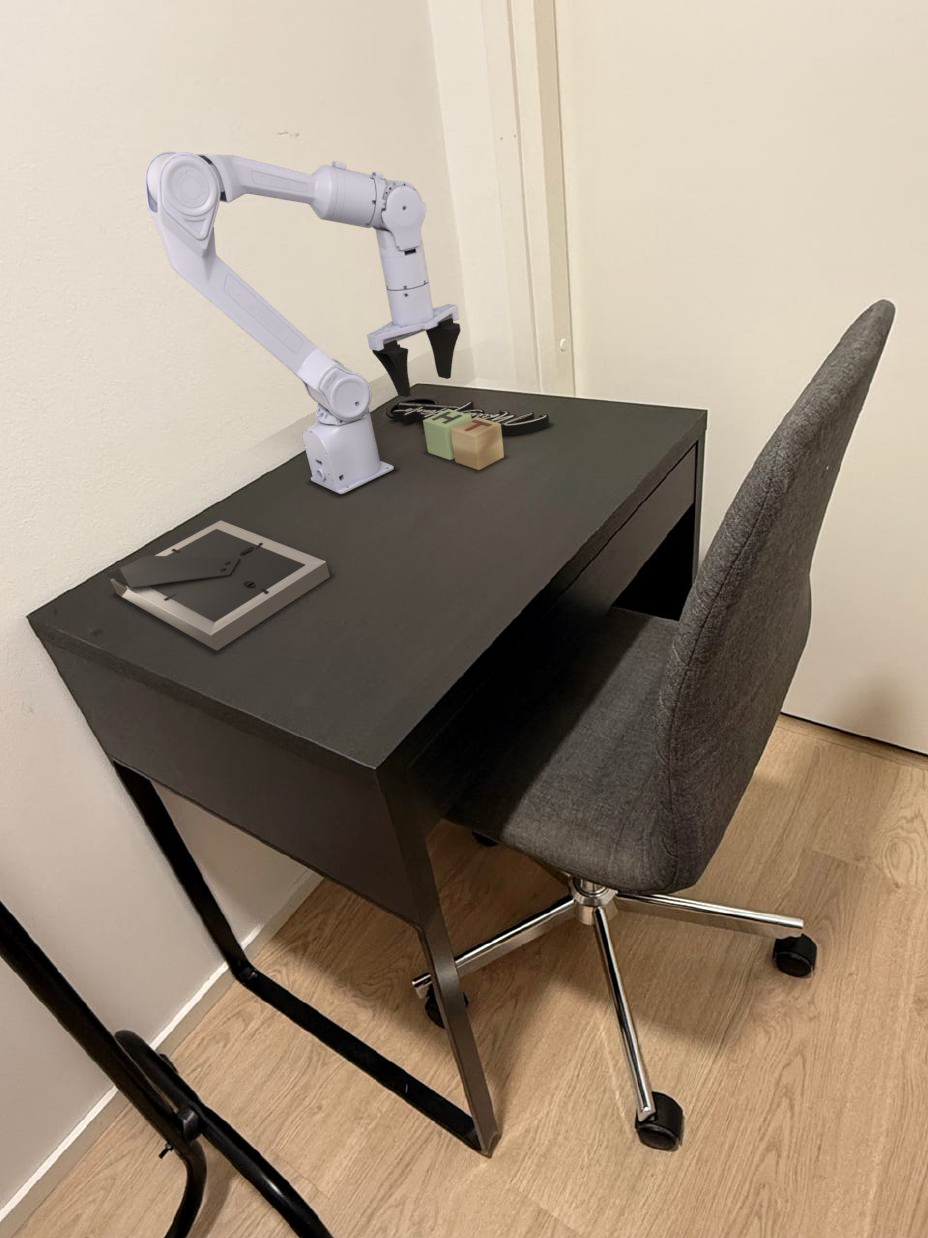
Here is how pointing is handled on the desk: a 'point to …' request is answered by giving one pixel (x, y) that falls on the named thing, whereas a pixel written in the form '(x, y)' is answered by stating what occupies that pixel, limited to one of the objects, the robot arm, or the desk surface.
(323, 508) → the desk surface
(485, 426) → the cream block
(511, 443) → the desk surface
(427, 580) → the desk surface
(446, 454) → the sage block
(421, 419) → the nameplate
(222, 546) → the picture frame
